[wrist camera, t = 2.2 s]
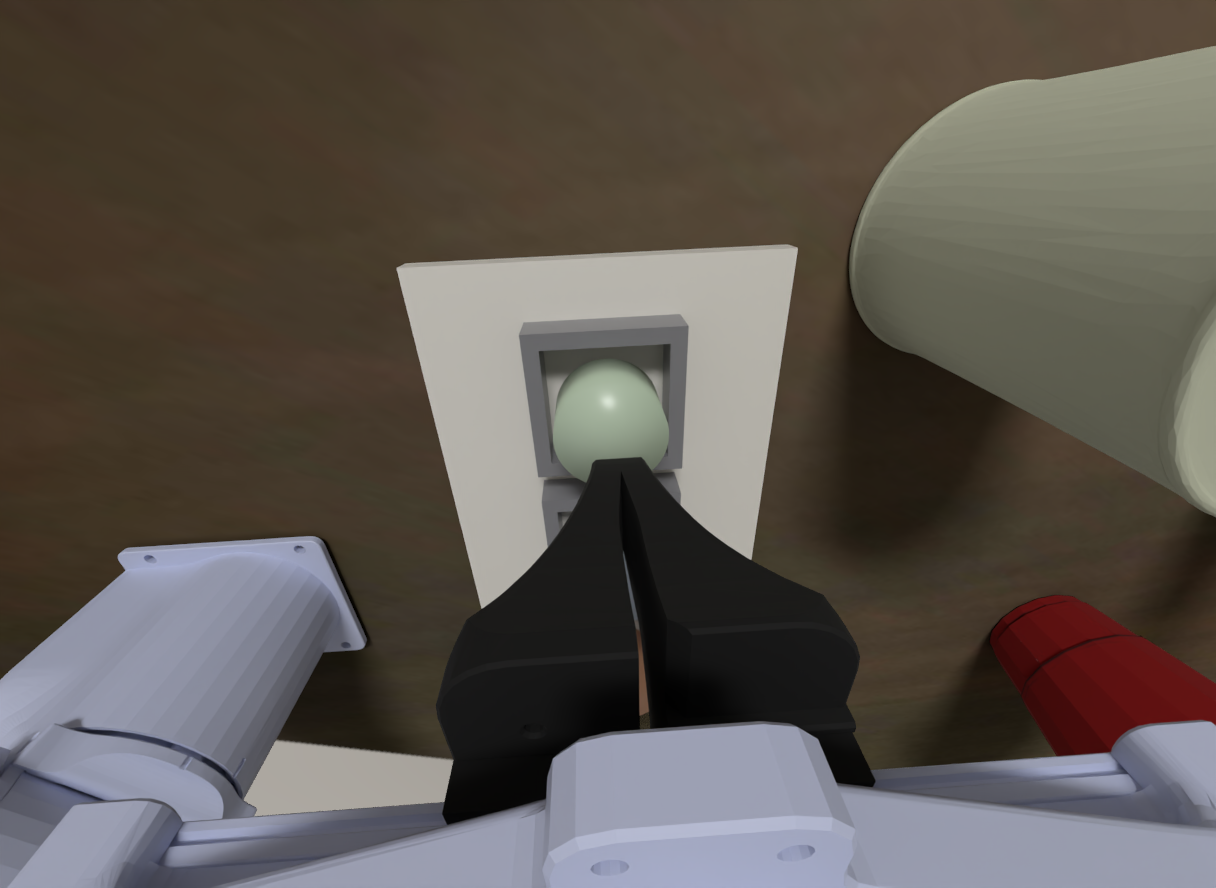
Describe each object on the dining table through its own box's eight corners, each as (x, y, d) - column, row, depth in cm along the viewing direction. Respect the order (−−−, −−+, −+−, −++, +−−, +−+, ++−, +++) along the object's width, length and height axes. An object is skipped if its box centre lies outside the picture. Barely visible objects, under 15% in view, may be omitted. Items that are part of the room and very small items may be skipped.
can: (1107, 279, 19) (1773, 408, 8) (879, 391, 21) (1186, 609, 10) (1101, 13, 15) (2425, -405, 4) (816, 184, 16) (1224, 194, 6)
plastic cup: (978, 568, 26) (1237, 822, 16) (1163, 555, 27) (1537, 797, 16) (922, 686, 32) (1089, 934, 21) (1077, 674, 32) (1316, 913, 22)
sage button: (560, 454, 18) (558, 490, 16) (551, 361, 16) (547, 388, 14) (657, 448, 18) (667, 483, 16) (659, 355, 16) (670, 381, 14)
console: (504, 675, 29) (498, 717, 27) (405, 263, 17) (379, 276, 15) (729, 659, 29) (742, 699, 27) (786, 244, 17) (818, 254, 15)
